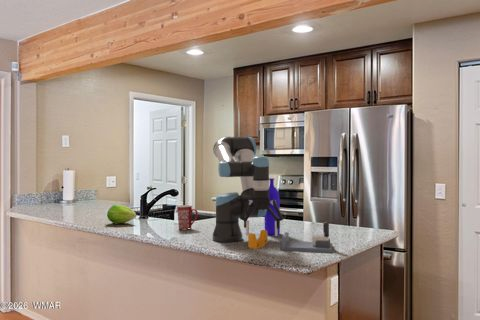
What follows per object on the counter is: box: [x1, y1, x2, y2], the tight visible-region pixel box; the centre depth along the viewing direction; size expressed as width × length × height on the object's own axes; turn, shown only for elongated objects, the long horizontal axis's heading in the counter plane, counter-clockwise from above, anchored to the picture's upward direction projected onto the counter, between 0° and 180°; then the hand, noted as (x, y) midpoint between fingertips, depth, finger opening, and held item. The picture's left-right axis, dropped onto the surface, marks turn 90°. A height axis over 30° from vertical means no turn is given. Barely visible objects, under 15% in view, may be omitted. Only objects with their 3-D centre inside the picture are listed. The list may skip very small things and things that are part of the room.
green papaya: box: [106, 204, 137, 225], centre depth 249 cm, size 14×20×12 cm
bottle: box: [264, 177, 281, 236], centre depth 211 cm, size 8×8×30 cm
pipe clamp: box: [247, 229, 268, 250], centre depth 183 cm, size 12×4×6 cm, turn 143°
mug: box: [176, 204, 199, 230], centre depth 228 cm, size 13×9×14 cm
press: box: [280, 232, 333, 254], centre depth 177 cm, size 22×13×6 cm, turn 76°
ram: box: [311, 221, 330, 246], centre depth 176 cm, size 7×5×10 cm, turn 76°
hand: (261, 235), depth 182 cm, fingers open, 13 cm apart
